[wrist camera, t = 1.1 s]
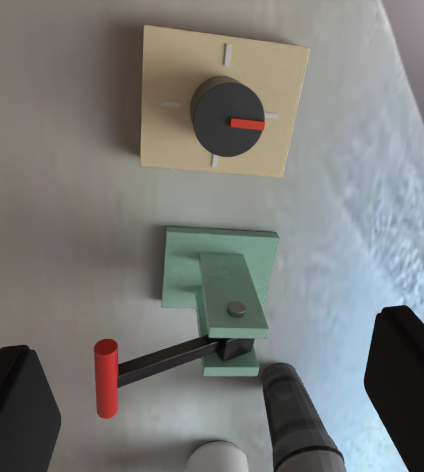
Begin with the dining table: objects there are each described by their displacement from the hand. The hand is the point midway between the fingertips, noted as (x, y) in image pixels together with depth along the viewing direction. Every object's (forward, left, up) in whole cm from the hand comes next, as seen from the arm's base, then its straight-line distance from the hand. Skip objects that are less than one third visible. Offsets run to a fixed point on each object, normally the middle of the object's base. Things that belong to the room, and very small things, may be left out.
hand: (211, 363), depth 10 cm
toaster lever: (0, -13, -13) cm, 18 cm away
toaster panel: (+3, +3, -24) cm, 25 cm away
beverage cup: (+15, -29, -25) cm, 40 cm away
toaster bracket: (+5, -13, -24) cm, 28 cm away
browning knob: (+3, +3, -22) cm, 22 cm away
